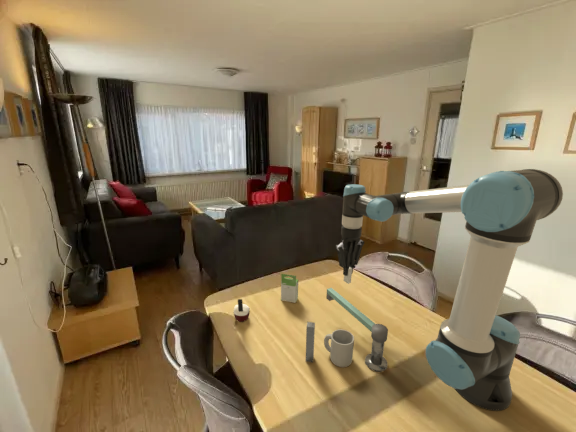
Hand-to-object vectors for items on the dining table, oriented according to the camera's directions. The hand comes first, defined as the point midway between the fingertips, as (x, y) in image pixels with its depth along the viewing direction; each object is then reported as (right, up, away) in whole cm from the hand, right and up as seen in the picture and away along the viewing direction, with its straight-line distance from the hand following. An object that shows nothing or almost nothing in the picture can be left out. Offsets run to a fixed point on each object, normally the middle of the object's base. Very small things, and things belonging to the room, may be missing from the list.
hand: (347, 281), depth 113 cm
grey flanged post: (+5, -22, -20) cm, 30 cm away
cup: (-7, -21, -18) cm, 29 cm away
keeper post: (-16, -21, -19) cm, 33 cm away
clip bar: (0, -11, -12) cm, 16 cm away
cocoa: (-42, -16, +1) cm, 45 cm away
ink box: (-23, -12, +15) cm, 30 cm away
